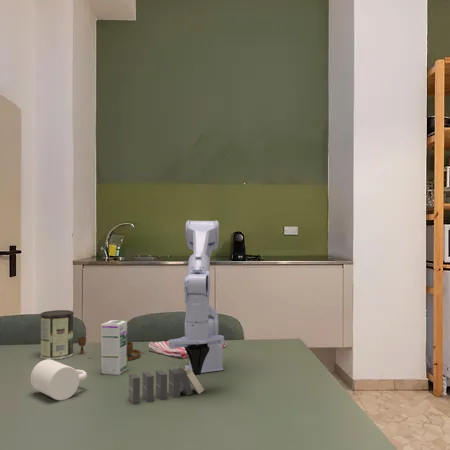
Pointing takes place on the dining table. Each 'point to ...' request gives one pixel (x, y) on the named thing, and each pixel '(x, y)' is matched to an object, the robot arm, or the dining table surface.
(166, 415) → the dining table surface
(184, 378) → the domino
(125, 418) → the dining table surface
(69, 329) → the coffee can
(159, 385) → the domino
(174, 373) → the domino
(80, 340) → the place setting
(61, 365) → the mug
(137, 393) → the domino
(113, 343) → the syrup box
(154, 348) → the dish towel
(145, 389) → the domino
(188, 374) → the domino
